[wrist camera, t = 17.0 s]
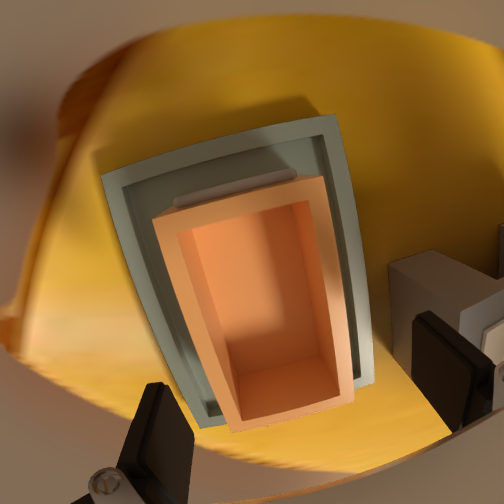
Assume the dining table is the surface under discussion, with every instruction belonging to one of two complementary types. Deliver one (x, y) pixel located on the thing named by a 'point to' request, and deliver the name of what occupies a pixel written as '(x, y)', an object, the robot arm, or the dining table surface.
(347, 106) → the dining table surface
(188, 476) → the robot arm
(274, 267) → the orange drawer
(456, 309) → the bay housing
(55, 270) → the dining table surface
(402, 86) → the dining table surface
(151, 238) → the tray
